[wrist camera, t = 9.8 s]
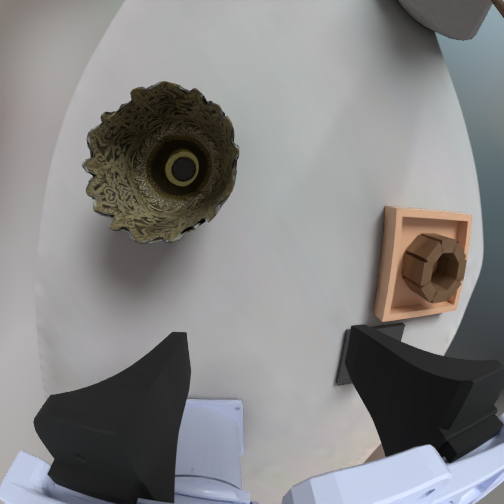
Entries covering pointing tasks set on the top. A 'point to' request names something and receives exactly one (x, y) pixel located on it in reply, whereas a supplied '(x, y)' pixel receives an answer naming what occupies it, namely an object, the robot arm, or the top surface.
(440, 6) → the coffee pot
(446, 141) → the top surface
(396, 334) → the stand
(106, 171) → the cup
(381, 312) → the dish
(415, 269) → the ring
